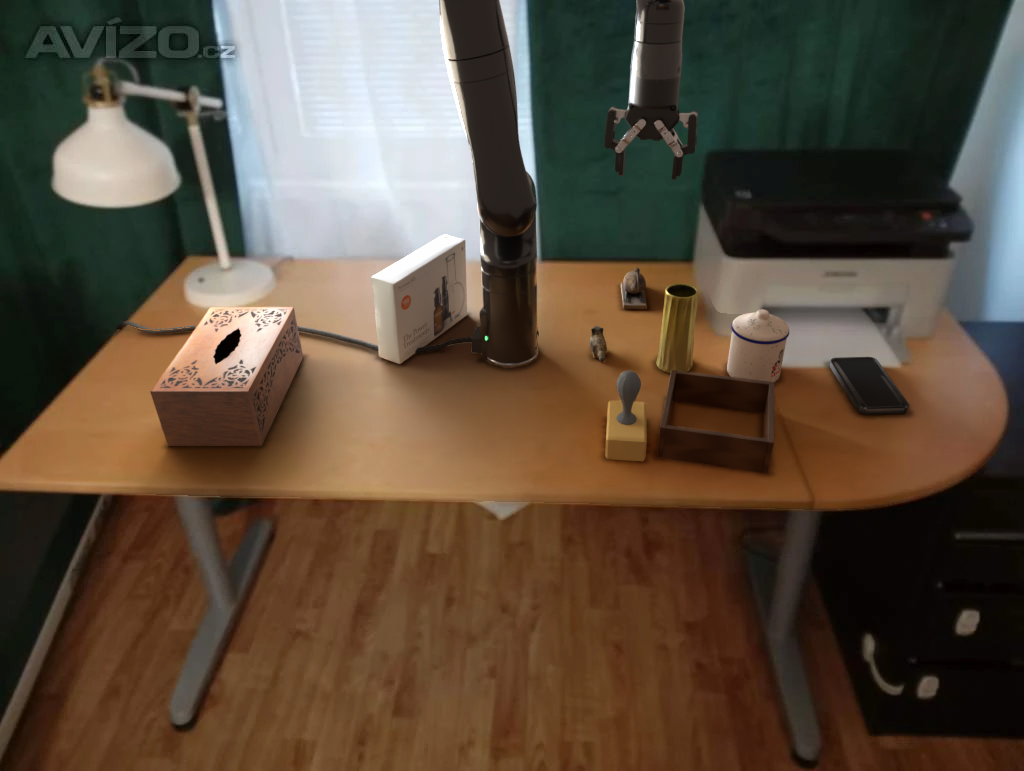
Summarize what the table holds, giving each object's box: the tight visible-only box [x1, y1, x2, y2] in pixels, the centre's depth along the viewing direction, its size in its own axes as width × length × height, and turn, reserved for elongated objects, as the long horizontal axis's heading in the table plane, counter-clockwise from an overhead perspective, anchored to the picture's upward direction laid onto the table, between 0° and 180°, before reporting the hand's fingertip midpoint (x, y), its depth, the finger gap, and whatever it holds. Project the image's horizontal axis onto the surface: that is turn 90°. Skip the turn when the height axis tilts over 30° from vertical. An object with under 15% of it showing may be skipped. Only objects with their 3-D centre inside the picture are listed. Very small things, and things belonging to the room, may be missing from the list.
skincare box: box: [370, 233, 468, 365], centre depth 146 cm, size 21×5×16 cm, turn 148°
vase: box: [655, 282, 699, 374], centre depth 136 cm, size 6×6×14 cm
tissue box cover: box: [149, 306, 304, 447], centre depth 132 cm, size 26×14×10 cm, turn 178°
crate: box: [656, 370, 776, 474], centre depth 122 cm, size 16×16×6 cm
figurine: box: [620, 267, 648, 310], centre depth 157 cm, size 14×4×9 cm, turn 177°
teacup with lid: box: [726, 308, 790, 383], centre depth 135 cm, size 12×9×12 cm
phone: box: [829, 356, 910, 416], centre depth 132 cm, size 8×1×15 cm
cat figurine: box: [589, 325, 608, 363], centre depth 142 cm, size 3×8×4 cm, turn 4°
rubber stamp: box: [604, 370, 648, 462], centre depth 120 cm, size 10×6×12 cm, turn 173°
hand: (647, 176), depth 132 cm, fingers open, 8 cm apart
